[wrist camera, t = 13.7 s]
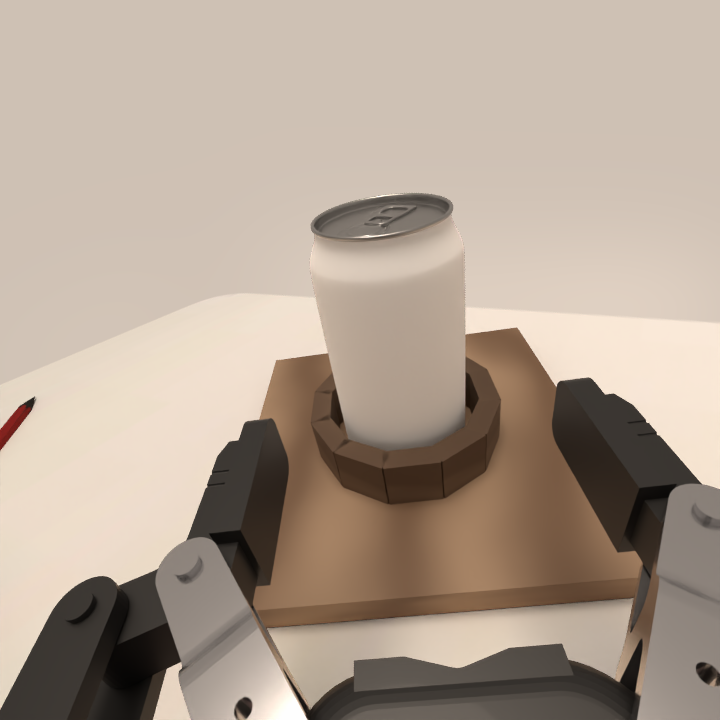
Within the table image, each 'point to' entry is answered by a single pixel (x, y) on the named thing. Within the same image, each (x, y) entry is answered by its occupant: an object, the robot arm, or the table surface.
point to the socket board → (433, 504)
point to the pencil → (15, 421)
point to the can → (393, 316)
